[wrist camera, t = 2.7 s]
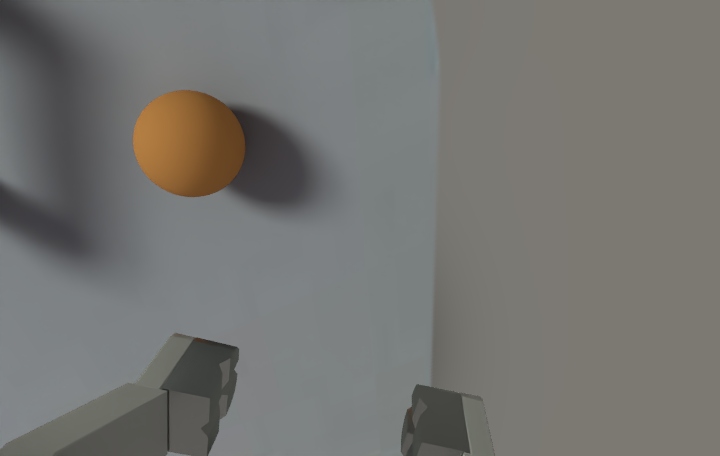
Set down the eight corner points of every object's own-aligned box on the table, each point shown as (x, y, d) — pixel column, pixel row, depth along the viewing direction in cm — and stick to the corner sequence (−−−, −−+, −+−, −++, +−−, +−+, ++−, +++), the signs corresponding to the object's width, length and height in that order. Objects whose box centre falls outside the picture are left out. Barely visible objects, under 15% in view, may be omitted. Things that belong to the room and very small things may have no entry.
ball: (165, 74, 25) (105, 88, 20) (262, 94, 25) (226, 114, 20) (165, 167, 27) (112, 200, 22) (254, 185, 27) (220, 223, 22)
